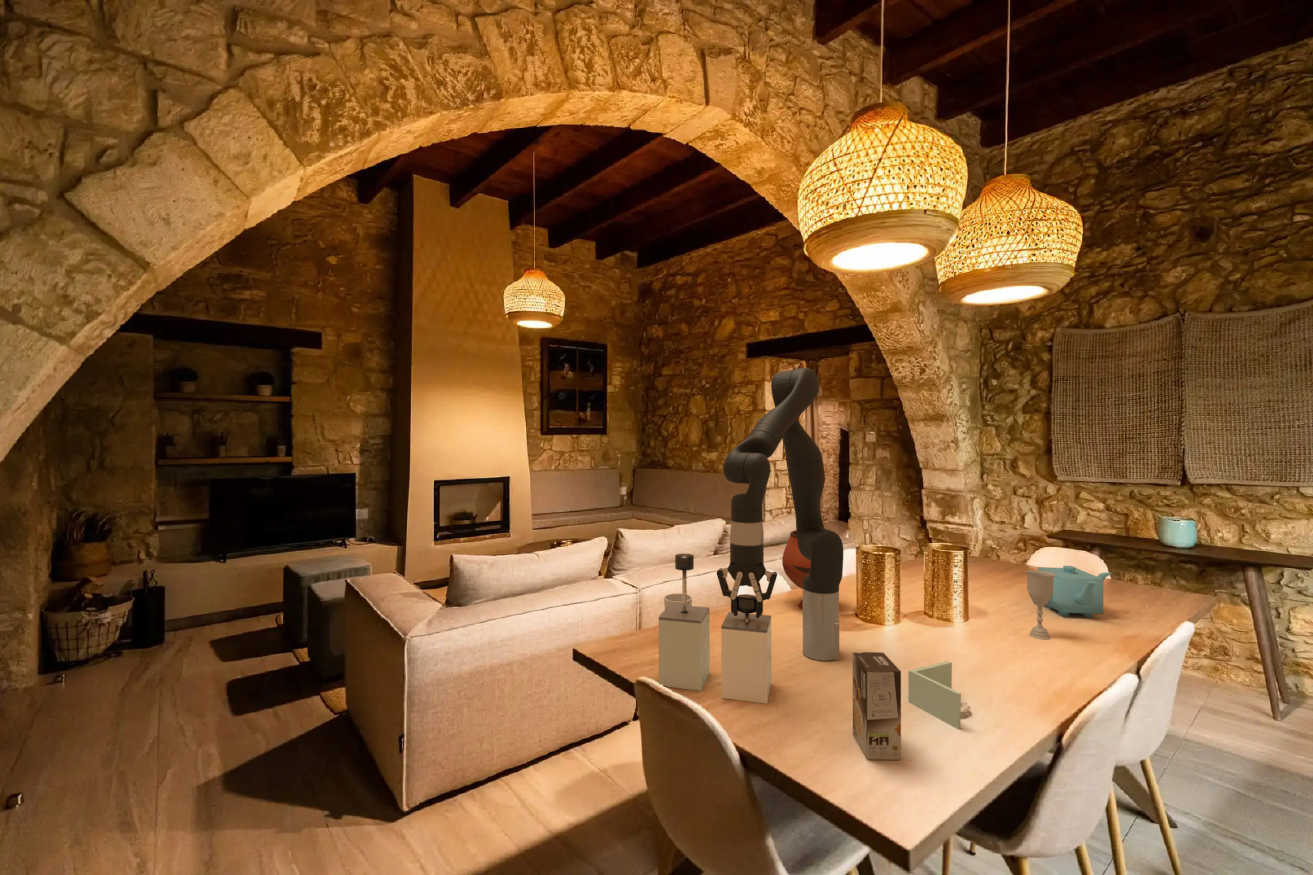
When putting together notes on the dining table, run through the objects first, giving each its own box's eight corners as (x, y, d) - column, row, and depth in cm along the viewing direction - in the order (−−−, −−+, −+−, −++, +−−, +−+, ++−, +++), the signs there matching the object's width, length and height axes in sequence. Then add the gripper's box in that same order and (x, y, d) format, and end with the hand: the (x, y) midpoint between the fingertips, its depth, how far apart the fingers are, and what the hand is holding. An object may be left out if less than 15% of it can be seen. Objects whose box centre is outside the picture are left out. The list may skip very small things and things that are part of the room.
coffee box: (902, 760, 102) (903, 671, 102) (866, 760, 102) (866, 671, 102) (883, 733, 111) (884, 651, 111) (850, 732, 111) (850, 651, 111)
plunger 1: (704, 632, 138) (704, 552, 137) (697, 644, 130) (697, 560, 130) (672, 629, 140) (672, 551, 140) (664, 640, 132) (663, 558, 132)
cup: (681, 647, 155) (681, 603, 155) (658, 640, 160) (658, 598, 159) (697, 638, 161) (697, 596, 161) (674, 632, 166) (674, 591, 166)
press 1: (709, 672, 139) (709, 607, 138) (701, 690, 129) (700, 620, 129) (669, 667, 141) (669, 604, 141) (658, 685, 132) (658, 617, 132)
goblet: (845, 602, 193) (845, 529, 193) (838, 620, 176) (838, 540, 175) (788, 596, 201) (788, 525, 200) (776, 612, 183) (776, 535, 183)
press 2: (771, 683, 133) (771, 615, 132) (767, 703, 123) (767, 630, 123) (728, 678, 135) (728, 611, 135) (721, 697, 126) (721, 625, 125)
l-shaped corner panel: (957, 731, 112) (957, 693, 112) (908, 704, 123) (908, 670, 123) (998, 718, 117) (998, 682, 117) (947, 693, 128) (947, 660, 128)
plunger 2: (766, 676, 132) (766, 593, 131) (763, 691, 124) (763, 603, 124) (732, 672, 134) (732, 590, 134) (726, 687, 126) (726, 600, 126)
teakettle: (1047, 599, 196) (1047, 557, 195) (1115, 613, 181) (1115, 567, 180) (1025, 611, 184) (1025, 565, 184) (1096, 626, 169) (1096, 577, 169)
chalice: (1027, 638, 160) (1027, 574, 160) (1022, 630, 166) (1022, 569, 166) (1058, 642, 157) (1058, 577, 157) (1051, 633, 163) (1052, 571, 163)
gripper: (780, 539, 130) (780, 613, 130) (718, 536, 134) (718, 608, 134) (777, 545, 123) (777, 624, 123) (712, 542, 127) (712, 618, 127)
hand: (746, 615), depth 129 cm, fingers closed on plunger 2, 4 cm apart
